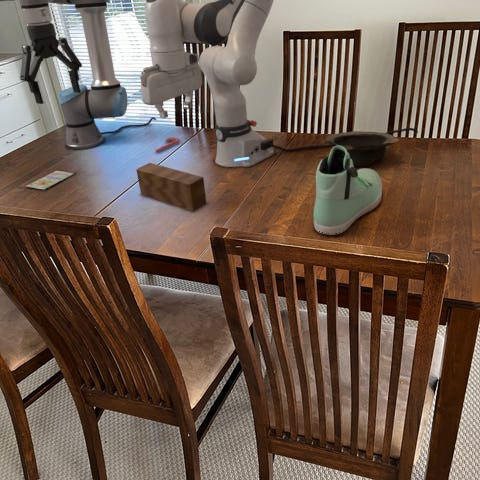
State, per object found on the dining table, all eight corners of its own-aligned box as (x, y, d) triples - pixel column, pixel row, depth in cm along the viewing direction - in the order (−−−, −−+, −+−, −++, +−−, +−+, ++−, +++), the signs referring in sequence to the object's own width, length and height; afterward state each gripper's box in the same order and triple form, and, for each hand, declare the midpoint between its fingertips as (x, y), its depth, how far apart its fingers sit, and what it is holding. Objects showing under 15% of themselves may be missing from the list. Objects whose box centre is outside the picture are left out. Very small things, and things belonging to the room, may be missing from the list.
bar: (141, 194, 157) (136, 169, 152) (154, 187, 161) (149, 162, 156) (193, 211, 144) (190, 184, 139) (206, 203, 148) (203, 177, 143)
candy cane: (146, 151, 191) (146, 147, 190) (171, 139, 201) (171, 135, 200) (157, 153, 188) (157, 150, 187) (182, 141, 198) (182, 137, 197)
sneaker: (389, 187, 148) (396, 123, 138) (356, 242, 123) (361, 168, 112) (346, 181, 154) (350, 119, 144) (306, 232, 129) (307, 161, 118)
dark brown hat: (355, 177, 156) (355, 149, 151) (311, 159, 176) (310, 134, 172) (413, 158, 165) (414, 132, 160) (364, 143, 185) (364, 119, 180)
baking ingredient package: (25, 185, 168) (56, 169, 179) (25, 186, 168) (56, 171, 180) (43, 188, 164) (74, 172, 176) (44, 190, 165) (74, 173, 176)
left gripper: (6, 31, 128) (30, 109, 139) (82, 17, 145) (98, 88, 156) (-8, 30, 132) (16, 106, 143) (68, 17, 149) (84, 86, 160)
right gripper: (148, 70, 118) (157, 125, 125) (203, 54, 131) (208, 104, 138) (131, 68, 121) (140, 122, 128) (186, 53, 135) (192, 102, 142)
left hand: (59, 97), depth 150 cm, fingers open, 13 cm apart
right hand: (176, 112), depth 134 cm, fingers open, 8 cm apart
